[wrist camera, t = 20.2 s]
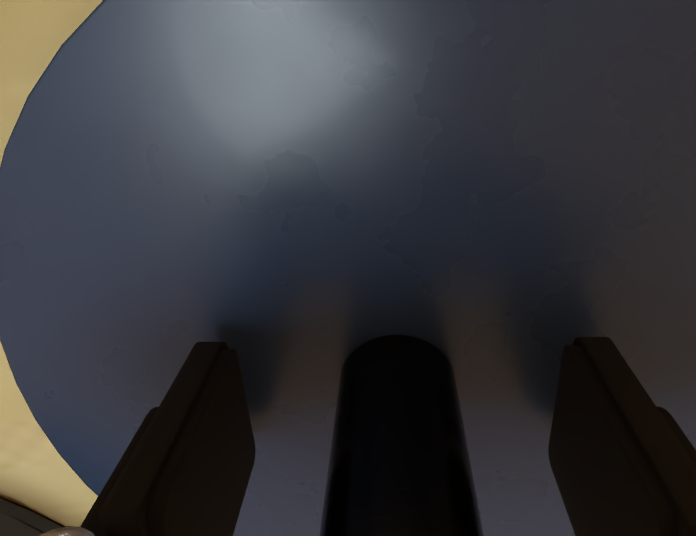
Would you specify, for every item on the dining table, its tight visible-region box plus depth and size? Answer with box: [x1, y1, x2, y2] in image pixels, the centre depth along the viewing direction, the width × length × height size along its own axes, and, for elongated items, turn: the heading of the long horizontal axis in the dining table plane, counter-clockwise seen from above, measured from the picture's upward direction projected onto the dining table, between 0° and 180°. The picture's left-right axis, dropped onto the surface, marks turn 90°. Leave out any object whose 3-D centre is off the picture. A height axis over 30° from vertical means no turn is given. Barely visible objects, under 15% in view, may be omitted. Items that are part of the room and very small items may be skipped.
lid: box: [0, 0, 696, 536], centre depth 9 cm, size 17×17×6 cm
